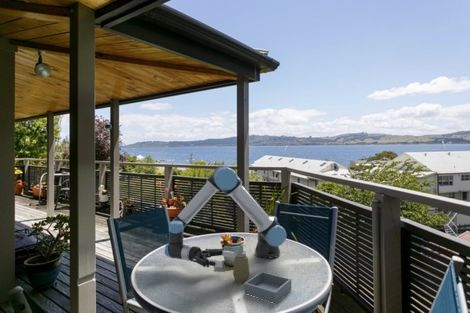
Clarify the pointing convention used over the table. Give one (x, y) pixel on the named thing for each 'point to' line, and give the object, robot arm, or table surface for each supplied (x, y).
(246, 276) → the squeeze bottle
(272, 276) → the bin
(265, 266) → the table surface
